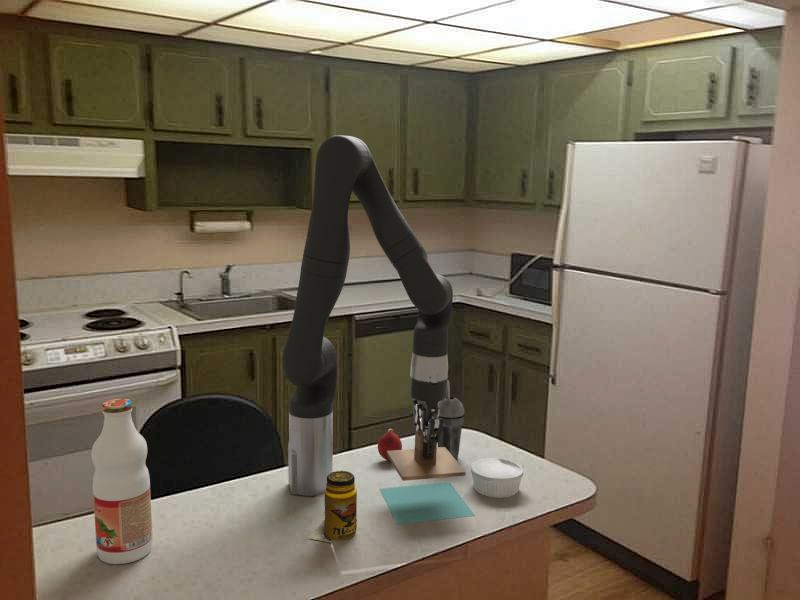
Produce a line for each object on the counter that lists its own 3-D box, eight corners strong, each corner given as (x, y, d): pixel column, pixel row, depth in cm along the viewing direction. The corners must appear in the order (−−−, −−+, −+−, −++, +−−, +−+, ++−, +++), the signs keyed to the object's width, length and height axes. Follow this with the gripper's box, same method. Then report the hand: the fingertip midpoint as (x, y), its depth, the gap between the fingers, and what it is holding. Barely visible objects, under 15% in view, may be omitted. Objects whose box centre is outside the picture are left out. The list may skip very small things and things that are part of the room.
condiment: (350, 547, 132) (350, 485, 130) (308, 539, 134) (307, 479, 132) (364, 528, 139) (364, 470, 136) (323, 521, 141) (323, 464, 139)
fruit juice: (151, 562, 125) (143, 409, 120) (93, 568, 123) (82, 413, 118) (155, 535, 134) (148, 392, 129) (101, 541, 132) (91, 395, 127)
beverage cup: (468, 458, 173) (471, 378, 170) (454, 468, 167) (457, 385, 163) (442, 451, 177) (444, 373, 173) (427, 461, 171) (429, 380, 167)
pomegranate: (398, 467, 167) (399, 434, 166) (374, 464, 168) (375, 432, 167) (403, 457, 173) (404, 426, 171) (380, 455, 174) (380, 424, 172)
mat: (397, 526, 139) (397, 524, 139) (379, 490, 155) (379, 488, 155) (475, 517, 143) (475, 515, 143) (449, 484, 159) (449, 481, 159)
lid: (402, 480, 140) (403, 447, 139) (386, 454, 152) (387, 424, 151) (465, 475, 143) (467, 443, 142) (444, 450, 156) (446, 420, 154)
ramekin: (532, 490, 156) (533, 467, 156) (502, 507, 148) (503, 483, 147) (490, 475, 164) (491, 453, 163) (459, 490, 156) (460, 467, 155)
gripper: (401, 365, 150) (398, 443, 153) (421, 386, 136) (417, 470, 140) (436, 364, 152) (432, 440, 155) (458, 384, 138) (453, 468, 142)
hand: (425, 454), depth 147 cm, fingers closed on lid, 3 cm apart
